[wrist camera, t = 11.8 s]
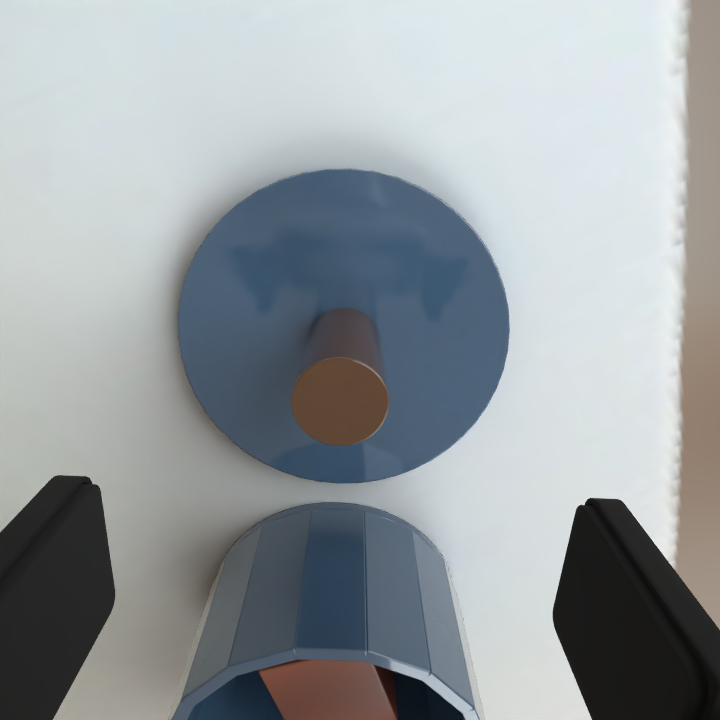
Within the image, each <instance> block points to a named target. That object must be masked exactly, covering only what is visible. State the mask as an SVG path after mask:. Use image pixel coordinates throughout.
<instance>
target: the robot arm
mask: <svg viewBox="0 0 720 720" xmlns="http://www.w3.org/2000/svg"><path fill="white" fill-rule="evenodd" d="M114 601H115V587H114V580H113V573H112V567H111V560H110V553H109V546H108V539H107V532H106V525H105V518H104V511H103V504H102V497H101V491H100V488H99V486H98V485H95V484H92V481H91V480H90V478H88V477H86V476H63V475H58V476H55V477H53V478H52V479H51V480H50V481H49V482H48V483H47V484H46V485H45V486H44V487H43V488H42V489H41V490H40V491H39V492H38V493H37V495H36V496H35V497H34V498H33V499H32V500H31V501H30V502H29V503H28V504H27V505H26V506H25V507H24V508H23V509H22V510H21V511H20V512H19V513H18V515H17V516H16V517H15V518H14V519H13V520H12V521H11V522H10V523H9V524H8V525H7V526H6V527H5V528H4V529H3V530H2V531H1V532H0V720H53V718H54V716H55V715H56V713H57V711H58V709H59V707H60V705H61V703H62V702H63V700H64V698H65V696H66V694H67V692H68V691H69V689H70V687H71V685H72V683H73V681H74V680H75V678H76V676H77V674H78V672H79V670H80V668H81V667H82V665H83V663H84V661H85V659H86V657H87V656H88V654H89V652H90V650H91V648H92V646H93V645H94V643H95V641H96V639H97V637H98V635H99V634H100V632H101V630H102V628H103V626H104V624H105V622H106V621H107V619H108V617H109V615H110V613H111V611H112V608H113V605H114ZM553 623H554V627H555V630H556V633H557V635H558V638H559V640H560V643H561V645H562V647H563V650H564V652H565V655H566V657H567V660H568V662H569V664H570V667H571V669H572V672H573V674H574V677H575V679H576V682H577V684H578V686H579V689H580V691H581V694H582V696H583V699H584V701H585V703H586V706H587V708H588V711H589V713H590V716H591V718H592V720H720V630H719V629H718V627H717V626H716V624H715V623H714V622H713V621H712V619H711V618H710V617H709V615H708V614H707V613H706V611H705V610H704V609H703V607H702V606H701V605H700V603H699V602H698V601H697V599H696V598H695V597H694V595H693V594H692V593H691V591H690V590H689V589H688V587H687V586H686V585H685V583H684V582H683V581H682V580H681V578H680V577H679V575H678V574H677V573H676V571H675V570H674V569H673V568H672V566H671V565H670V564H669V562H668V561H667V560H666V558H665V557H664V556H663V554H662V553H661V552H660V550H659V549H658V548H657V546H656V545H655V544H654V542H653V541H652V540H651V538H650V537H649V536H648V534H647V533H646V532H645V530H644V529H643V528H642V526H641V525H640V524H639V522H638V521H637V520H636V519H635V517H634V516H633V515H632V513H631V512H630V511H629V509H628V508H627V507H626V505H625V504H624V503H623V502H622V501H621V500H618V499H600V498H590V499H588V500H587V501H586V503H585V505H580V506H578V507H577V509H576V513H575V517H574V521H573V525H572V530H571V534H570V538H569V543H568V547H567V551H566V556H565V560H564V564H563V569H562V573H561V577H560V581H559V586H558V590H557V594H556V599H555V603H554V607H553Z"/></svg>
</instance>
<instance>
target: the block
mask: <svg viewBox="0 0 720 720" xmlns="http://www.w3.org/2000/svg"><path fill="white" fill-rule="evenodd" d="M259 674H260V676H261V678H262V679H263V681H264V683H265V685H266V687H267V689H268V691H269V693H270V694H271V696H272V698H273V700H274V702H275V704H276V706H277V708H278V709H279V711H280V713H281V715H282V717H283V719H284V720H398V713H397V699H396V685H395V672H394V671H391V670H388V669H385V668H382V667H379V666H376V665H373V664H370V663H367V662H364V661H334V660H299V659H297V660H293V661H290V662H286V663H282V664H279V665H275V666H271V667H268V668H264V669H260V670H259Z"/></svg>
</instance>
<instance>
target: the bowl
mask: <svg viewBox="0 0 720 720" xmlns="http://www.w3.org/2000/svg"><path fill="white" fill-rule="evenodd" d="M297 659H299V660H334V661H364V662H367V663H370V664H373V665H376V666H379V667H382V668H385V669H388V670H391V671H394V672H395V685H396V699H397V713H398V720H485V715H484V711H483V706H482V702H481V697H480V693H479V688H478V684H477V679H476V675H475V671H474V666H473V662H472V657H471V653H470V648H469V644H468V639H467V635H466V630H465V626H464V622H463V617H462V613H461V608H460V604H459V599H458V595H457V592H456V590H455V587H454V584H453V581H452V578H451V574H450V571H449V568H448V566H447V564H446V562H445V560H444V558H443V556H442V555H441V554H440V552H439V551H438V549H437V548H436V547H435V545H434V544H433V543H432V542H431V541H430V540H429V539H428V538H427V537H426V536H425V535H424V534H422V533H421V532H420V531H419V530H418V529H416V528H415V527H414V526H412V525H410V524H409V523H407V522H405V521H404V520H402V519H400V518H398V517H396V516H394V515H392V514H389V513H387V512H384V511H381V510H378V509H375V508H372V507H367V506H362V505H357V504H348V503H318V504H310V505H304V506H300V507H295V508H291V509H288V510H285V511H283V512H280V513H277V514H275V515H273V516H271V517H269V518H267V519H265V520H263V521H261V522H259V523H258V524H256V525H255V526H254V527H252V528H251V529H249V530H248V531H247V532H246V533H245V534H244V535H242V536H241V537H240V538H239V539H238V540H237V541H236V542H235V544H234V545H233V546H232V547H231V549H230V550H229V551H228V553H227V555H226V556H225V558H224V560H223V562H222V564H221V566H220V569H219V572H218V574H217V577H216V579H215V581H214V583H213V585H212V587H211V590H210V593H209V596H208V599H207V602H206V605H205V608H204V611H203V614H202V617H201V620H200V623H199V626H198V629H197V632H196V635H195V638H194V641H193V644H192V647H191V650H190V653H189V656H188V659H187V662H186V665H185V668H184V672H183V675H182V678H181V681H180V684H179V687H178V690H177V693H176V696H175V699H174V702H173V705H172V708H171V711H170V714H169V717H168V720H284V719H283V717H282V715H281V713H280V711H279V709H278V708H277V706H276V704H275V702H274V700H273V698H272V696H271V694H270V693H269V691H268V689H267V687H266V685H265V683H264V681H263V679H262V678H261V676H260V674H259V670H260V669H264V668H268V667H271V666H275V665H279V664H282V663H286V662H290V661H293V660H297Z"/></svg>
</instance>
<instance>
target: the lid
mask: <svg viewBox="0 0 720 720" xmlns="http://www.w3.org/2000/svg"><path fill="white" fill-rule="evenodd" d="M509 332H510V327H509V309H508V304H507V298H506V293H505V288H504V285H503V282H502V280H501V277H500V274H499V271H498V268H497V266H496V264H495V262H494V260H493V258H492V256H491V254H490V252H489V250H488V249H487V247H486V246H485V244H484V243H483V241H482V240H481V239H480V237H479V236H478V234H477V233H476V232H475V230H474V229H473V228H472V227H471V226H470V225H469V224H468V223H467V222H466V221H465V220H464V218H463V217H462V216H461V215H460V214H459V213H458V212H456V211H455V210H454V209H453V208H451V207H450V206H449V205H448V204H446V203H445V202H444V201H443V200H441V199H440V198H438V197H437V196H435V195H433V194H431V193H430V192H428V191H426V190H425V189H423V188H421V187H420V186H417V185H415V184H413V183H410V182H408V181H405V180H403V179H401V178H398V177H395V176H391V175H387V174H384V173H380V172H376V171H369V170H361V169H353V168H340V169H322V170H316V171H310V172H304V173H300V174H297V175H294V176H291V177H288V178H284V179H281V180H279V181H277V182H274V183H272V184H270V185H268V186H266V187H264V188H262V189H260V190H258V191H256V192H255V193H253V194H252V195H250V196H249V197H247V198H246V199H244V200H243V201H241V202H239V203H238V204H237V205H236V206H235V207H234V208H232V209H231V210H230V211H229V212H228V213H227V214H226V215H225V216H223V217H222V218H221V219H220V221H219V222H218V223H217V224H216V225H215V226H214V228H213V229H212V230H211V231H210V232H209V234H208V235H207V236H206V238H205V239H204V241H203V242H202V244H201V246H200V247H199V249H198V250H197V252H196V254H195V256H194V258H193V260H192V262H191V265H190V267H189V269H188V272H187V274H186V277H185V281H184V284H183V288H182V292H181V295H180V303H179V311H178V339H179V346H180V352H181V358H182V361H183V365H184V368H185V372H186V375H187V378H188V380H189V382H190V384H191V387H192V389H193V391H194V394H195V396H196V397H197V399H198V401H199V402H200V404H201V405H202V407H203V409H204V410H205V412H206V413H207V415H208V416H209V417H210V418H211V420H212V421H213V422H214V423H215V425H216V426H217V427H218V428H219V429H220V430H221V431H222V432H223V433H224V434H225V435H226V436H227V437H228V438H229V439H230V440H231V441H232V442H233V443H235V444H236V445H237V446H239V447H240V448H241V449H242V450H244V451H245V452H246V453H248V454H249V455H251V456H253V457H254V458H256V459H258V460H259V461H261V462H263V463H264V464H266V465H269V466H271V467H273V468H275V469H277V470H280V471H282V472H285V473H288V474H291V475H294V476H297V477H300V478H305V479H310V480H315V481H320V482H331V483H361V482H369V481H376V480H381V479H385V478H389V477H393V476H397V475H400V474H402V473H405V472H408V471H410V470H413V469H415V468H417V467H419V466H421V465H423V464H425V463H427V462H429V461H431V460H433V459H434V458H436V457H437V456H439V455H440V454H442V453H443V452H445V451H446V450H448V449H449V448H450V447H451V446H452V445H454V444H455V443H456V442H457V441H458V440H459V439H461V438H462V437H463V436H464V435H465V434H466V433H467V431H468V430H469V429H470V428H471V427H472V426H473V425H474V424H475V423H476V421H477V420H478V419H479V417H480V416H481V414H482V413H483V411H484V410H485V409H486V407H487V406H488V404H489V402H490V400H491V398H492V396H493V394H494V392H495V391H496V389H497V386H498V383H499V381H500V378H501V375H502V372H503V370H504V365H505V361H506V356H507V352H508V343H509Z"/></svg>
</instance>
